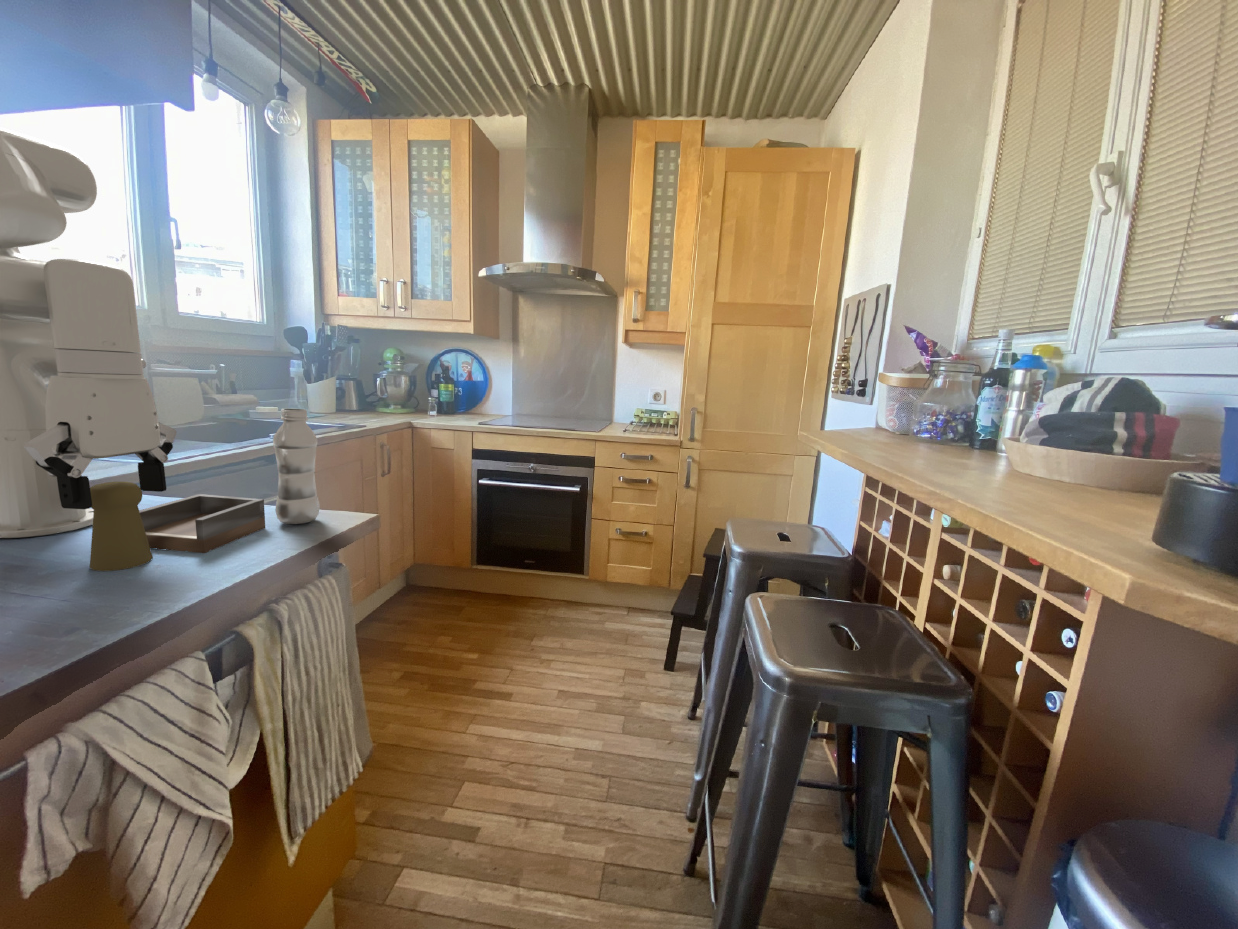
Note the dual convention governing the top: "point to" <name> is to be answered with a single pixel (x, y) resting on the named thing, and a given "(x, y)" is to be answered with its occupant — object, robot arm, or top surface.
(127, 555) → the cork
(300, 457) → the plastic bottle
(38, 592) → the top surface
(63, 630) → the top surface
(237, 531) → the tray
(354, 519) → the top surface
